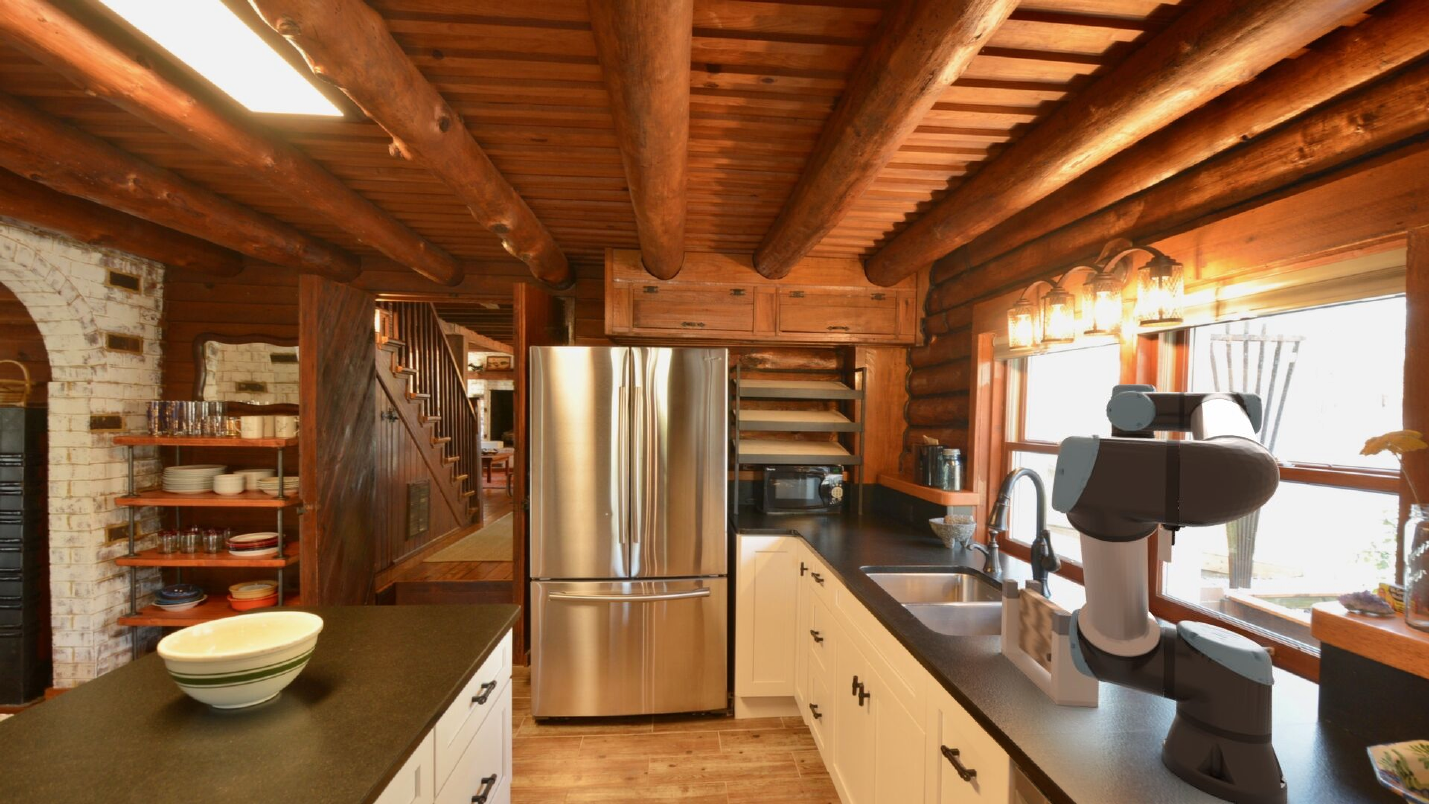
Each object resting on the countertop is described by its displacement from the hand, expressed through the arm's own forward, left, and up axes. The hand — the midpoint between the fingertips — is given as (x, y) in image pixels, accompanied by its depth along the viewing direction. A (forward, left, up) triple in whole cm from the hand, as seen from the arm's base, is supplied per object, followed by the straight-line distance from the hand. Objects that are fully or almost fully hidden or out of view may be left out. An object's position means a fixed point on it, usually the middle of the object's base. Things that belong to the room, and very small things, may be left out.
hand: (1130, 559), depth 116 cm
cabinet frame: (+8, +13, -29) cm, 32 cm away
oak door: (+8, +13, -26) cm, 30 cm away
